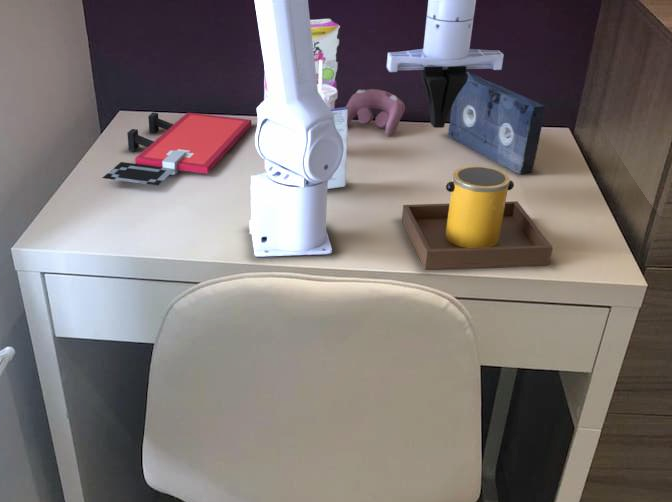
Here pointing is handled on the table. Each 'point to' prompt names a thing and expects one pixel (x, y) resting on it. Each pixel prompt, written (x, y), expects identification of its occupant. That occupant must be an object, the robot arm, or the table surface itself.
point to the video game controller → (378, 100)
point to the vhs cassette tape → (497, 123)
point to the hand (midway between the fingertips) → (437, 125)
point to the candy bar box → (322, 51)
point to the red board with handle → (180, 147)
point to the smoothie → (326, 89)
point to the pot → (476, 206)
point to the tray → (511, 250)
